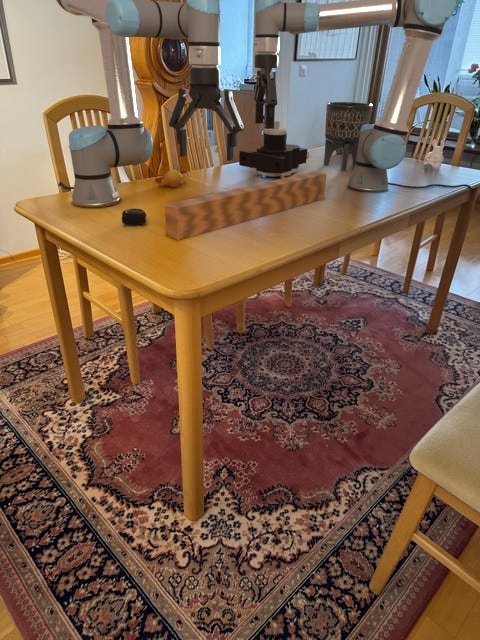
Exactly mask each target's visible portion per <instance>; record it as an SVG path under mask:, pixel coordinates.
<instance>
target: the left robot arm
mask: <svg viewBox="0 0 480 640" xmlns="http://www.w3.org/2000/svg"><path fill="white" fill-rule="evenodd" d="M55 1H56V3H57V4H58V5H59V7H60V8H61V9H63V10H64V11H65V12H67V13H69V14H72V15H74V16H84V17H88V18H90V20H91V24H92V26H93V28H95V29H96V30H97V32H98V37H99V44H100V52H101V56H102V65H103V72H104V79H105V86H106V91H107V99H108V105H109V113H110V119H109V120H108V122H107V123H106V124H107V129H106V127H105V126H104V125H99V124H98V125H87V126H82V127H78V128H75V129H73V130H71V131H70V132H69V134H68V143H69V144H68V148H69V152H70V157H71V163H72V169H73V175H74V184H73V186H66V184H64V183H63V182H62V181H59V182H58V186H61V187H63V189H66V190H72V195H71V196H72V197H71V200H72V204H73V205H74V206H76V207H79V208H85V209H98V208H106V207H111V206H114V205H116V204H119V203H120V201H121V198H120V194H119V191H118V189H117V187H116V185H115V182H114V180H113V177H112V171H111V170H112V168H113V169H114V168H121V167H126V166H127V167H129V166H138V165H141V164H145V163H147V162H148V161H149V160H150V158H151V156H152V153H153V148H154V147H153V146H154V145H153V137H152V134H151V132H150V130H149V129H148V128H147V127H145V126H144V121H143V120H142V119H141V118H140V117H139V115H138V109H137V100H136V99H137V98H136V92H135V91H136V90H135V83H134V75H133V66H132V58H131V51H130V50H131V49H130V41H129V38H152V39H168V40H171V41H172V40H173V41H174V40H175V41H179V40H188V64H189V65H190V66H191V67H190V68H189V71H188V72H189V84H190V87H189V88H188V89H187V88H186V87H180V88H178V93H177V94H178V95H177V100H176V103H175V105H174V108H173V111H172V114H171V117H170V119H169V122H168V126H169V127H170V128H173V129H175V134H176V135H175V136H176V143H178V144H179V156H180V157H185V156H188V143H187V129H185V126H186V125H187V123H188V122H189V121H190V119H191V118H192V116H193V114H194V113H195V112H196V110H202V109H203V110H204V109H205V110H213V111H214V112H215V113H216V114H217V116H218V117H219V119H220V120H221V122H222V123H223V124H224V126H225V128H226V129H227V130H228V132H229V133H226V161H228V162H229V161H233V160H234V148H235V147H237V145H238V133H239V132H242V131H244V130H245V125H244V123H243V121H242V118H241V115H240V114H239V113H240V112H239V111H238V109H237V106H236V103H235V101H234V96H233V95H234V94H233V90H232V89H226V90H221V69H220V68H219V66H220V65H221V47H220V46H221V7H220V5H221V4H220V0H185V1H183V2H176V1H175V2H173V1H163V0H55ZM189 97H190V99H191V102H190V103H189V104H188V106H187V108H186V110H185V112H184V113H183V110H184V107H185V106H186V105H185V104H186V102H187V99H188V98H189ZM221 98H222V99H223V101H225V105H226V107H227V110H228V112H229V115H230V116H229V115H228V113H227V112H226V111H225V109H224V106H223V105H222V103H221V102H220V99H221ZM182 113H183V114H182ZM230 117H231V118H230Z"/></svg>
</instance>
